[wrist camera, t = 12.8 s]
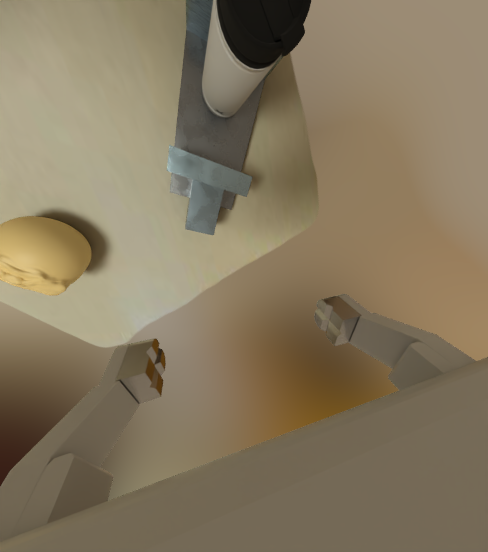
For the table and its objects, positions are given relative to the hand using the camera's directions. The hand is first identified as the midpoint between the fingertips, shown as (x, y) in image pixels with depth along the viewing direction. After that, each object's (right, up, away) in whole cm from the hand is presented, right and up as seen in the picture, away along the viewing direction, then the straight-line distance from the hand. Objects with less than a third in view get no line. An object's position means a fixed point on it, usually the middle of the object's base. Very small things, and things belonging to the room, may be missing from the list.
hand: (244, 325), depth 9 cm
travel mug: (-3, +31, +19) cm, 36 cm away
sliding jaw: (-8, +18, +25) cm, 32 cm away
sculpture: (-35, +9, +25) cm, 44 cm away
